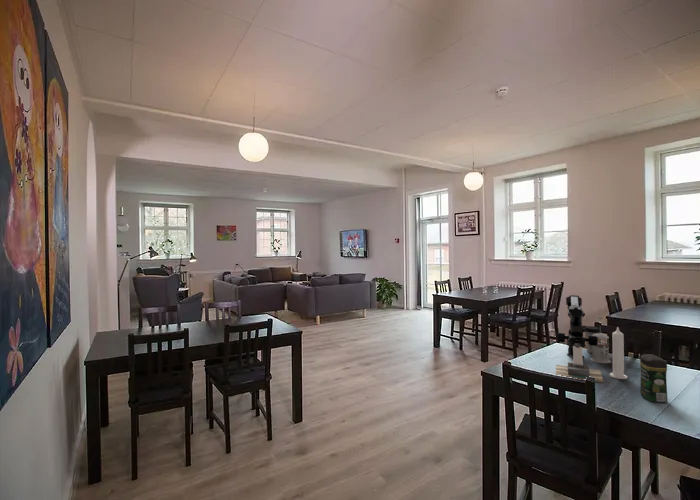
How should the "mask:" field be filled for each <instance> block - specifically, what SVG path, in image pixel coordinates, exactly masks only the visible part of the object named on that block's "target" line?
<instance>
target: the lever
mask: <svg viewBox="0 0 700 500" xmlns="http://www.w3.org/2000/svg"><path fill="white" fill-rule="evenodd" d="M582 356H583V347H581V345H580V344H579V343H575V344H574V346H573V357H572V359H573V360H572V361H573V362H572V363H573V364H575V365H583V364H584V363H583V361H584V360H583V358H584V357H582Z"/></svg>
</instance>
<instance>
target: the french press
mask: <svg viewBox="0 0 700 500" xmlns="http://www.w3.org/2000/svg"><path fill="white" fill-rule="evenodd" d="M598 319H599V320H602V319H603V318H602V316H598V317H597V320H598ZM592 336H597V337H598V339H600V342H598V344H597V347H594V345H592V353H591V355H592V357H591V358H590V361H592V362H595V363H600V364H611V363H612V361H611V360H610V358H609V357H610V356H609V354H610V353H609V352H610V351H609V347H610V345H609V343H610V342H609V338H610V337H609V336H608V335H607V334H605V333H602V332H601V333H598V334H593V335H592ZM601 340H604V341H605V342H603V341H601ZM607 342H608V343H607ZM598 347H599V348H598Z"/></svg>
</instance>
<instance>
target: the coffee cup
mask: <svg viewBox="0 0 700 500" xmlns="http://www.w3.org/2000/svg"><path fill="white" fill-rule="evenodd" d="M585 326H586V332H584V337H585V338H589V335H590V336H592V335H593V334H598V333H601V334H602V332H603V331H602V329H601V327H597V326H591V325H590V326H587V325H585ZM598 342H600V339H598ZM585 346H586V351H587V353H589V354H592V345H589V344H588V342H587V341H585ZM594 347H597V346H594ZM598 348H599V347H598Z"/></svg>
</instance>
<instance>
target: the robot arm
mask: <svg viewBox="0 0 700 500" xmlns="http://www.w3.org/2000/svg"><path fill="white" fill-rule="evenodd" d="M582 304H583V300H582V297H580V296H579V295H577V294H570V295H569V296H567V297H565V305H566V306H567V317H569V330H568V335H566V332H564V333H563V332H557V333H556V342H558V343H564V342H566V346H567V353H566V355H567V356H570V357H572V358H573V346H574V344H575V343H579V344H580V345H581V347H582V348H585V347H586V341H587V342H588V344H589V345H594V346H597V344H598V337H597V336H590V335H589V338H585V336H584V333H585V332H586V326H587V325H583V318H584V317H585V316H586V313H585V312H584V310H583V308H582V306H583V305H582ZM582 357H583V358H585V356H584V355H582Z"/></svg>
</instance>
